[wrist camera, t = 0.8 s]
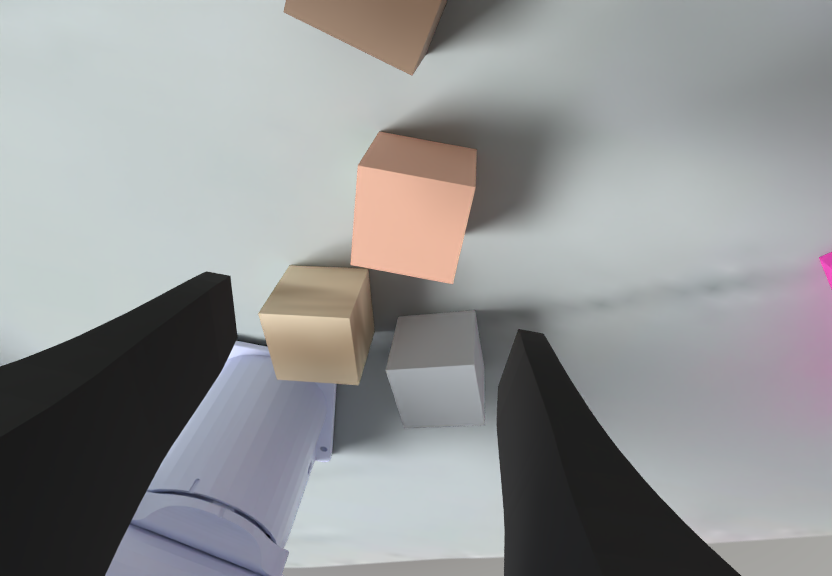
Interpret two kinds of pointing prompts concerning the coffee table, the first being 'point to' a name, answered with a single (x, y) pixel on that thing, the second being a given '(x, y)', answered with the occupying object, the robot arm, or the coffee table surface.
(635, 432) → the coffee table surface
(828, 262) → the bracket
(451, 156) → the terracotta cube
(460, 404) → the slate cube
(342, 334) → the beech cube
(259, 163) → the coffee table surface
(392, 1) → the walnut cube
